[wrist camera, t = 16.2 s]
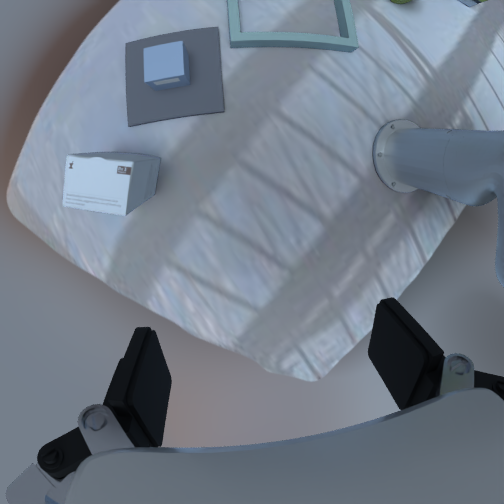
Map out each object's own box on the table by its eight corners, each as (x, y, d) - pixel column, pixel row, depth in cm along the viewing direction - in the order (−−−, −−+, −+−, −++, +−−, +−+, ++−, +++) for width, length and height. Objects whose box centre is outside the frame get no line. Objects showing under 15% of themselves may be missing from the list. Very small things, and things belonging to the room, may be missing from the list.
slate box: (188, 54, 31) (182, 40, 26) (190, 85, 33) (184, 75, 28) (154, 60, 31) (143, 48, 26) (155, 91, 33) (144, 82, 27)
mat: (218, 29, 31) (218, 26, 30) (224, 112, 36) (224, 111, 35) (127, 45, 30) (125, 43, 29) (130, 126, 35) (128, 126, 34)
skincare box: (108, 187, 38) (58, 209, 24) (113, 149, 36) (62, 153, 22) (158, 195, 40) (124, 221, 26) (165, 155, 38) (132, 160, 24)
